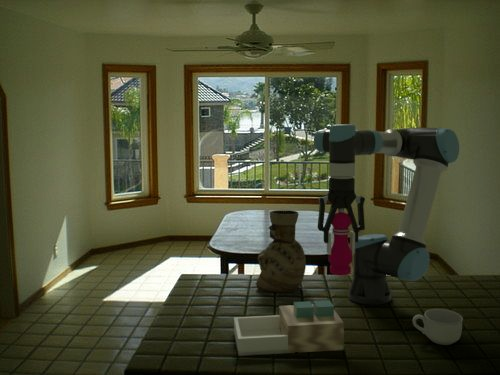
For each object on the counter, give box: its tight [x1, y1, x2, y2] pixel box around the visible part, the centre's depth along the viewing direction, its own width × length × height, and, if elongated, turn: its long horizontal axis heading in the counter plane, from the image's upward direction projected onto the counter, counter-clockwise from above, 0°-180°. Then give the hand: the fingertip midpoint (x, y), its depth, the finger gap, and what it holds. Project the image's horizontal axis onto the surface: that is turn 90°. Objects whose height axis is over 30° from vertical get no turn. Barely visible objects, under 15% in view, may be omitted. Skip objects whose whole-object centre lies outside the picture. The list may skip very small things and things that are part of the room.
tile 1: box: [293, 300, 314, 318], centre depth 162 cm, size 5×5×3 cm
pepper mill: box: [327, 208, 354, 276], centre depth 164 cm, size 7×7×20 cm
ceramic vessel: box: [255, 209, 307, 294], centre depth 208 cm, size 19×21×30 cm
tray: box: [233, 314, 289, 357], centre depth 161 cm, size 14×16×5 cm
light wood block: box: [278, 303, 345, 354], centre depth 163 cm, size 16×16×8 cm
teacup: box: [412, 308, 464, 346], centre depth 161 cm, size 14×11×8 cm
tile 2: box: [312, 299, 335, 317], centre depth 162 cm, size 5×5×3 cm
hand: (340, 253), depth 165 cm, fingers closed on pepper mill, 6 cm apart
